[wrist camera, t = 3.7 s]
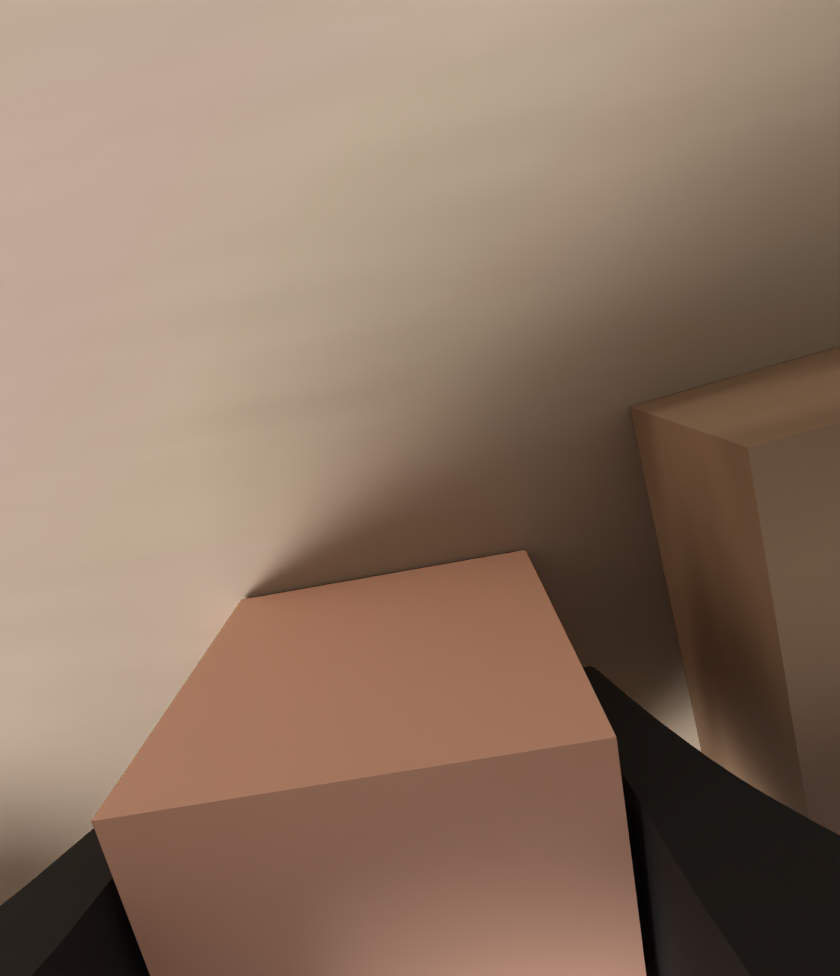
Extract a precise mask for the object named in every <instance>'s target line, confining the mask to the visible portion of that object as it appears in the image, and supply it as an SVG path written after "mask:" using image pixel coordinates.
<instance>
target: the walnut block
mask: <svg viewBox="0 0 840 976" xmlns="http://www.w3.org/2000/svg"><path fill="white" fill-rule="evenodd" d="M630 411H631V416H632V421H633V426H634V430H635V435H636V440H637V445H638V450H639V454H640V459H641V464H642V469H643V473H644V478H645V483H646V488H647V493H648V497H649V502H650V507H651V512H652V517H653V521H654V526H655V531H656V536H657V540H658V545H659V550H660V555H661V560H662V564H663V569H664V574H665V579H666V584H667V588H668V593H669V598H670V603H671V607H672V612H673V617H674V622H675V627H676V631H677V636H678V641H679V646H680V651H681V655H682V660H683V665H684V670H685V674H686V679H687V684H688V689H689V694H690V698H691V703H692V708H693V713H694V718H695V722H696V727H697V732H698V737H699V741H700V746H701V751H702V753H703V754H704V755H706V756H707V757H709V758H710V759H711V760H713V761H714V762H716V763H717V764H719V765H720V766H722V767H723V768H725V769H726V770H728V771H729V772H731V773H732V774H734V775H735V776H737V777H738V778H740V779H742V780H743V781H745V782H746V783H748V784H750V785H751V786H753V787H755V788H756V789H758V790H759V791H761V792H763V793H764V794H766V795H768V796H770V797H771V798H773V799H775V800H777V801H778V802H780V803H782V804H784V805H785V806H787V807H789V808H791V809H793V810H794V811H796V812H798V813H800V814H801V815H803V816H805V817H807V818H808V819H810V820H812V821H814V822H816V823H817V824H819V825H821V826H823V827H825V828H827V829H829V830H831V831H833V832H834V833H836V834H838V835H840V346H839V347H836V348H832V349H829V350H825V351H822V352H818V353H815V354H811V355H808V356H804V357H801V358H797V359H794V360H790V361H787V362H783V363H780V364H776V365H773V366H769V367H766V368H762V369H759V370H755V371H752V372H749V373H745V374H742V375H738V376H735V377H731V378H728V379H724V380H721V381H717V382H714V383H710V384H707V385H703V386H700V387H696V388H693V389H689V390H686V391H682V392H679V393H675V394H672V395H668V396H665V397H661V398H658V399H654V400H651V401H647V402H644V403H640V404H637V405H633V406H630Z"/></svg>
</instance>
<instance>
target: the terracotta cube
mask: <svg viewBox="0 0 840 976" xmlns="http://www.w3.org/2000/svg"><path fill="white" fill-rule="evenodd" d="M92 824H93V827H94V829H95V832H96V834H97V837H98V840H99V842H100V845H101V848H102V850H103V853H104V856H105V858H106V861H107V863H108V866H109V869H110V871H111V874H112V877H113V879H114V882H115V884H116V887H117V890H118V892H119V895H120V898H121V900H122V903H123V905H124V908H125V911H126V913H127V916H128V919H129V921H130V924H131V927H132V929H133V932H134V934H135V937H136V940H137V942H138V945H139V948H140V950H141V953H142V955H143V958H144V961H145V963H146V966H147V969H148V971H149V974H150V976H646V968H645V960H644V953H643V945H642V937H641V929H640V921H639V913H638V905H637V897H636V889H635V881H634V873H633V865H632V857H631V849H630V841H629V833H628V825H627V817H626V809H625V801H624V793H623V785H622V777H621V769H620V761H619V753H618V745H617V737H616V735H615V733H614V731H613V729H612V727H611V725H610V723H609V721H608V719H607V717H606V715H605V713H604V710H603V708H602V706H601V704H600V702H599V700H598V698H597V696H596V694H595V692H594V690H593V688H592V686H591V684H590V682H589V680H588V678H587V676H586V673H585V671H584V669H583V667H582V665H581V663H580V661H579V659H578V657H577V655H576V653H575V651H574V649H573V647H572V645H571V643H570V641H569V639H568V636H567V634H566V632H565V630H564V628H563V626H562V624H561V622H560V620H559V618H558V616H557V614H556V612H555V610H554V608H553V606H552V604H551V602H550V599H549V597H548V595H547V593H546V591H545V589H544V587H543V585H542V583H541V581H540V579H539V577H538V575H537V573H536V571H535V569H534V567H533V565H532V562H531V560H530V558H529V556H528V554H527V552H526V550H522V551H516V552H511V553H505V554H499V555H493V556H488V557H482V558H476V559H471V560H465V561H459V562H454V563H448V564H442V565H436V566H431V567H425V568H419V569H414V570H408V571H402V572H397V573H391V574H385V575H379V576H374V577H368V578H362V579H357V580H351V581H345V582H340V583H334V584H328V585H322V586H317V587H311V588H305V589H300V590H294V591H288V592H283V593H277V594H271V595H265V596H260V597H254V598H248V599H243V600H241V601H240V603H239V604H238V605H237V607H236V608H235V610H234V611H233V613H232V614H231V616H230V617H229V619H228V620H227V622H226V623H225V625H224V626H223V628H222V629H221V631H220V632H219V634H218V635H217V636H216V638H215V639H214V641H213V642H212V644H211V645H210V647H209V648H208V650H207V651H206V653H205V654H204V656H203V657H202V659H201V660H200V662H199V663H198V665H197V666H196V668H195V669H194V670H193V672H192V673H191V675H190V676H189V678H188V679H187V681H186V682H185V684H184V685H183V687H182V688H181V690H180V691H179V693H178V694H177V696H176V697H175V699H174V700H173V701H172V703H171V704H170V706H169V707H168V709H167V710H166V712H165V713H164V715H163V716H162V718H161V719H160V721H159V722H158V724H157V725H156V727H155V728H154V730H153V731H152V733H151V734H150V735H149V737H148V738H147V740H146V741H145V743H144V744H143V746H142V747H141V749H140V750H139V752H138V753H137V755H136V756H135V758H134V759H133V761H132V762H131V764H130V765H129V767H128V768H127V769H126V771H125V772H124V774H123V775H122V777H121V778H120V780H119V781H118V783H117V784H116V786H115V787H114V789H113V790H112V792H111V793H110V795H109V796H108V798H107V799H106V800H105V802H104V803H103V805H102V806H101V808H100V809H99V811H98V812H97V814H96V815H95V817H94V818H93V820H92Z"/></svg>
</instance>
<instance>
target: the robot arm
mask: <svg viewBox="0 0 840 976" xmlns="http://www.w3.org/2000/svg"><path fill="white" fill-rule="evenodd" d="M583 669H584V671H585V673H586V676H587V678H588V680H589V682H590V684H591V686H592V688H593V690H594V692H595V694H596V696H597V698H598V700H599V702H600V704H601V706H602V708H603V710H604V713H605V715H606V717H607V719H608V721H609V723H610V725H611V727H612V729H613V731H614V733H615V735H616V737H617V745H618V753H619V761H620V769H621V777H622V785H623V793H624V801H625V809H626V817H627V825H628V833H629V841H630V849H631V857H632V865H633V873H634V881H635V889H636V897H637V905H638V913H639V921H640V929H641V937H642V945H643V953H644V960H645V968H646V976H840V835H838V834H836V833H834V832H833V831H831V830H829V829H827V828H825V827H823V826H821V825H819V824H817V823H816V822H814V821H812V820H810V819H808V818H807V817H805V816H803V815H801V814H800V813H798V812H796V811H794V810H793V809H791V808H789V807H787V806H785V805H784V804H782V803H780V802H778V801H777V800H775V799H773V798H771V797H770V796H768V795H766V794H764V793H763V792H761V791H759V790H758V789H756V788H755V787H753V786H751V785H750V784H748V783H746V782H745V781H743V780H742V779H740V778H738V777H737V776H735V775H734V774H732V773H731V772H729V771H728V770H726V769H725V768H723V767H722V766H720V765H719V764H717V763H716V762H714V761H713V760H711V759H710V758H709V757H707V756H706V755H704V754H703V753H701V752H700V751H699V750H697V749H696V748H694V747H693V746H692V745H690V744H689V743H688V742H686V741H685V740H684V739H682V738H681V737H680V736H678V735H677V734H676V733H674V732H673V731H672V730H670V729H669V728H668V727H666V726H665V725H664V724H662V723H661V722H660V721H658V720H657V719H656V718H655V717H653V716H652V715H651V714H649V713H648V712H647V711H646V710H644V709H643V708H642V707H641V706H640V705H638V704H637V703H636V702H635V701H633V700H632V699H631V698H630V697H629V696H627V695H626V694H625V693H624V692H623V691H621V690H620V689H619V688H618V687H617V686H616V685H614V684H613V683H612V682H611V681H610V680H609V679H607V678H606V677H605V676H604V675H603V674H602V673H600V672H599V671H598V670H596V669H595V668H594V667H592V666H591V667H584V668H583ZM0 976H150V974H149V971H148V969H147V966H146V963H145V961H144V958H143V955H142V953H141V950H140V948H139V945H138V942H137V940H136V937H135V934H134V932H133V929H132V927H131V924H130V921H129V919H128V916H127V913H126V911H125V908H124V905H123V903H122V900H121V898H120V895H119V892H118V890H117V887H116V884H115V882H114V879H113V877H112V874H111V871H110V869H109V866H108V863H107V861H106V858H105V856H104V853H103V850H102V848H101V845H100V842H99V840H98V837H97V834H96V832H95V829H92V830H91V831H90V832H89V833H88V834H86V835H85V836H84V837H83V838H82V839H81V840H79V841H78V842H77V843H76V844H75V845H74V846H72V847H71V848H70V849H69V850H68V851H66V852H65V853H64V854H63V855H62V856H61V857H59V858H58V859H57V860H56V861H55V862H54V863H52V864H51V865H50V866H49V867H48V868H46V869H45V870H44V871H43V872H42V873H41V874H39V875H38V876H37V877H36V878H35V879H33V880H32V881H31V882H30V883H29V884H27V885H26V886H25V887H24V888H22V889H21V890H20V891H19V892H17V893H16V894H15V895H14V896H12V897H11V898H10V899H9V900H7V901H6V902H5V903H3V904H2V905H1V906H0Z"/></svg>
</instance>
